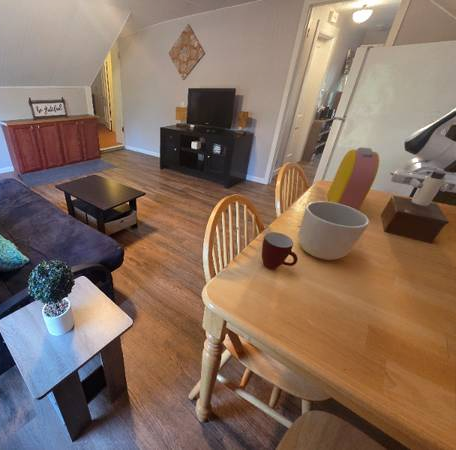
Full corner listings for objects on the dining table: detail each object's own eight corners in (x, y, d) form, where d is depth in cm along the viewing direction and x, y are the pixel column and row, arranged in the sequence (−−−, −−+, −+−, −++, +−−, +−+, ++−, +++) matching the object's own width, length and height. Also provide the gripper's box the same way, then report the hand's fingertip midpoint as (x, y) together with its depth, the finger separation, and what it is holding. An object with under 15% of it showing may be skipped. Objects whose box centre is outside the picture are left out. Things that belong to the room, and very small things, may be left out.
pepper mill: (424, 201, 93) (444, 170, 87) (431, 206, 89) (453, 175, 83) (409, 199, 94) (427, 169, 88) (415, 204, 91) (435, 173, 84)
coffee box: (431, 243, 89) (446, 223, 85) (384, 231, 96) (396, 212, 91) (422, 224, 100) (435, 205, 95) (380, 215, 107) (391, 197, 102)
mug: (294, 265, 78) (304, 240, 73) (290, 280, 73) (300, 254, 67) (260, 253, 83) (268, 229, 78) (254, 266, 78) (261, 241, 72)
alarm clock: (356, 216, 106) (387, 156, 92) (331, 212, 109) (358, 153, 95) (348, 197, 122) (373, 143, 108) (327, 194, 125) (349, 141, 111)
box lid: (447, 224, 84) (448, 221, 83) (396, 213, 90) (397, 211, 90) (435, 205, 95) (436, 203, 95) (391, 197, 102) (392, 195, 101)
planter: (347, 274, 75) (371, 234, 67) (288, 254, 83) (302, 216, 75) (348, 247, 87) (368, 210, 79) (296, 232, 95) (309, 196, 87)
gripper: (393, 163, 101) (398, 173, 91) (464, 173, 91) (477, 185, 81) (386, 178, 104) (389, 189, 94) (453, 189, 94) (464, 202, 85)
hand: (431, 187), depth 88 cm, fingers closed on pepper mill, 5 cm apart
